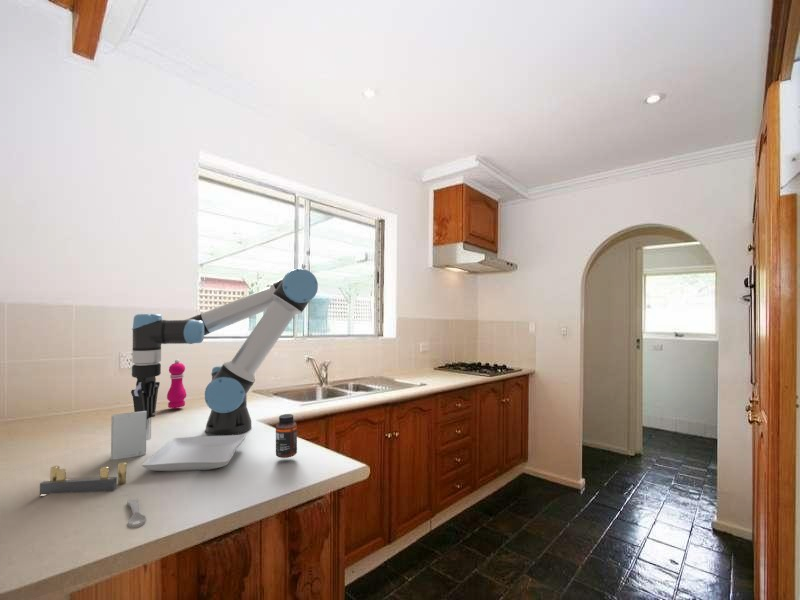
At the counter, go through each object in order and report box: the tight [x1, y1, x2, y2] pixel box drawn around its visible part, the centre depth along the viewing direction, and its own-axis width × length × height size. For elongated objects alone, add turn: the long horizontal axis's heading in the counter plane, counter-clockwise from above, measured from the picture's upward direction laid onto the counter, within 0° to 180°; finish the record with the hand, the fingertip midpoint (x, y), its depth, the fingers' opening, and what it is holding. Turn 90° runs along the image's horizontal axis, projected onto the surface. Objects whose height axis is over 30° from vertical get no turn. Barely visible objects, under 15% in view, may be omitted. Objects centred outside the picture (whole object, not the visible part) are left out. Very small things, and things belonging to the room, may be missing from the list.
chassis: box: [39, 461, 127, 496], centre depth 90 cm, size 16×5×5 cm, turn 99°
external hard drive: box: [110, 411, 147, 461], centre depth 110 cm, size 2×8×12 cm, turn 123°
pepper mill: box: [166, 358, 187, 409], centre depth 165 cm, size 7×7×20 cm
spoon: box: [126, 498, 147, 529], centre depth 79 cm, size 3×12×2 cm, turn 39°
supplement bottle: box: [275, 413, 298, 459], centre depth 112 cm, size 6×6×11 cm
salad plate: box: [141, 434, 247, 472], centre depth 109 cm, size 21×21×3 cm
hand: (145, 439), depth 120 cm, fingers closed
